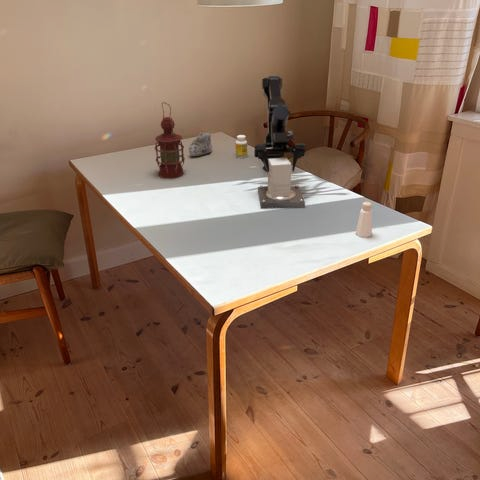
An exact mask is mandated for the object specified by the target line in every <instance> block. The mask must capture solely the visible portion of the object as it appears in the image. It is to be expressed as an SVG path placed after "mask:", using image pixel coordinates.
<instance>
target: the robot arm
mask: <svg viewBox="0 0 480 480" xmlns="http://www.w3.org/2000/svg"><path fill="white" fill-rule="evenodd" d="M281 89H283V78H281V77H280V76H278V75H275V76H274V75H273V76H271V75H270V76H267V77H264V78H262V79H261V90H262V94H263V96H264V98H265V99H266V104H267V106H266V115H267V134H266V137H264V138H265V139H264V142H263V143H259V144H257V143H256V144H255V145H254V153H253V154H254V157H255V158H257V159H258V160H261V163H262V164H263V167H262V169H263V170H264V171H266V172H267V173H268V172H269V165H268V159H273V158H284V156H285V153H286V154H287V153H288V154H289V153H290V154H291V153H293V156H292V164H291V171H292V173H293V172H295V168H296V164H297V162H298V160H299V159H302V157H304V156H305V154H306V151H307V149H306V144H305V143H294V145H293V146H290V147H288V145H289V141H293V140H294V131H293V130H287V123H288V119H289V116H290V115H291V110H290V109H289V107H288V105H286V104H287V103H286V100H285V99H283V98H282V93H281Z"/></svg>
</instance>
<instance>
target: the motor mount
mask: <svg viewBox="0 0 480 480" xmlns="http://www.w3.org/2000/svg"><path fill="white" fill-rule="evenodd" d="M257 193H258V199H259V200H258V201H259V206H260V209H289V208H290V209H293V208H294V209H297V208H300V209H301V208H303V209H304V208H305V207H306V200H305V198H304V196H303V193H302V190H301V188H300V185H298V184H295V185H291V189H290V196H280V197H271V195H270V193H269V191H268V186H263V185H260V186H258V187H257Z"/></svg>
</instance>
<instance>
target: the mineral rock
mask: <svg viewBox="0 0 480 480" xmlns="http://www.w3.org/2000/svg"><path fill="white" fill-rule="evenodd" d="M188 151H189V155H190V156H192V157H194V156H196V157H197V156H202V155H206V154H209V153H212V152H213V146H212V140H211V134H210V133H209V132H205V133H204V132H200V133H199V134H198V136H197V138H195V139H194V140H193V141H192V142H191V144H190V145H189V147H188Z"/></svg>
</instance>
